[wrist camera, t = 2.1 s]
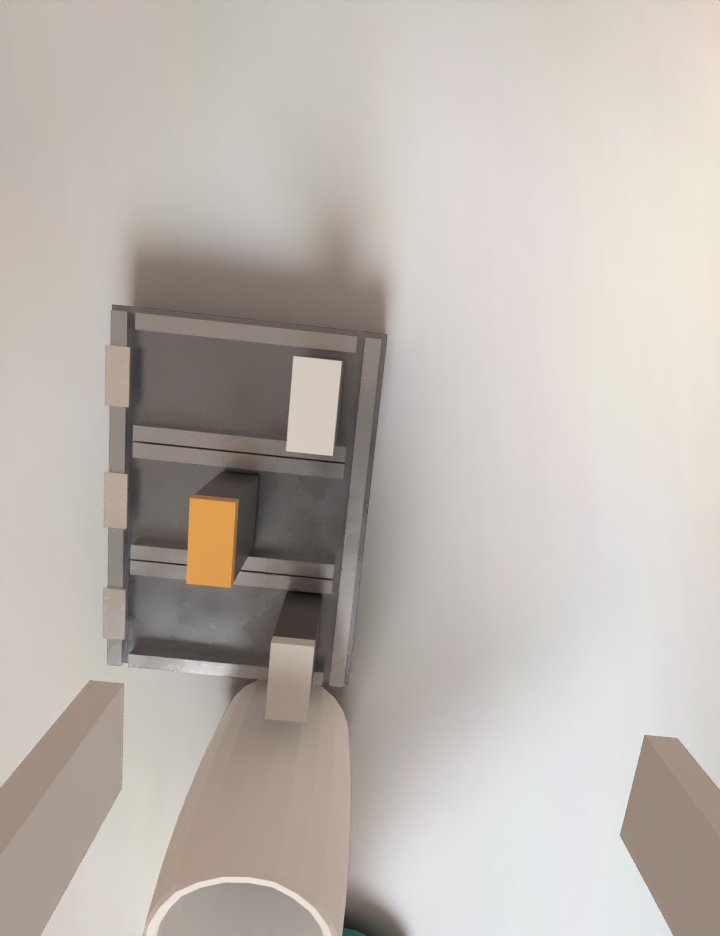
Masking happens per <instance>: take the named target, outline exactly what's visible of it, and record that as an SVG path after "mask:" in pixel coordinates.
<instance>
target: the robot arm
mask: <svg viewBox="0 0 720 936" xmlns="http://www.w3.org/2000/svg"><path fill="white" fill-rule="evenodd" d="M123 711H124V684H122V683H112V682H102V681H92V680H90V681H89V682H88V683H87V684H86V686H85V687H84V688H83V689H82V690H81V692H80V693H79V694H78V695H77V697H76V698H75V699H74V700H73V701H72V703H71V704H70V705H69V706H68V707H67V709H66V710H65V711H64V712H63V713H62V715H61V716H60V717H59V718H58V719H57V721H56V722H55V723H54V724H53V725H52V727H51V728H50V729H49V730H48V731H47V733H46V734H45V735H44V736H43V737H42V739H41V740H40V741H39V742H38V743H37V745H36V746H35V747H34V748H33V749H32V751H31V752H30V753H29V754H28V755H27V757H26V758H25V759H24V760H23V761H22V763H21V764H20V765H19V766H18V767H17V769H16V770H15V771H14V772H13V773H12V775H11V776H10V777H9V778H8V779H7V781H6V782H5V783H4V784H3V785H2V787H1V788H0V936H40V935H41V934H42V932H43V930H44V928H45V926H46V925H47V923H48V921H49V919H50V917H51V915H52V914H53V912H54V910H55V908H56V906H57V905H58V903H59V901H60V899H61V897H62V896H63V894H64V892H65V890H66V888H67V887H68V885H69V883H70V881H71V879H72V877H73V876H74V874H75V872H76V870H77V868H78V867H79V865H80V863H81V861H82V859H83V858H84V856H85V854H86V852H87V850H88V848H89V847H90V845H91V843H92V841H93V839H94V838H95V836H96V834H97V832H98V830H99V829H100V827H101V825H102V823H103V821H104V820H105V818H106V816H107V814H108V812H109V810H110V809H111V807H112V805H113V803H114V801H115V800H116V798H117V796H118V794H119V792H120V791H121V789H122V757H123ZM620 836H621V838H622V840H623V842H624V844H625V846H626V848H627V850H628V851H629V853H630V855H631V857H632V859H633V861H634V863H635V864H636V866H637V868H638V870H639V872H640V874H641V876H642V878H643V879H644V881H645V883H646V885H647V887H648V889H649V891H650V893H651V894H652V896H653V898H654V900H655V902H656V904H657V906H658V907H659V909H660V911H661V913H662V915H663V917H664V919H665V921H666V922H667V924H668V926H669V928H670V930H671V932H672V934H673V935H674V936H720V789H719V788H718V787H717V786H716V785H715V783H714V782H713V781H712V780H711V778H710V777H709V776H708V775H707V774H706V772H705V771H704V770H703V769H702V768H701V766H700V765H699V764H698V763H697V761H696V760H695V759H694V758H693V757H692V755H691V754H690V753H689V752H688V750H687V749H686V748H685V747H684V746H683V744H682V743H681V742H680V741H679V739H678V738H671V737H660V736H650V735H644V739H643V743H642V747H641V752H640V756H639V760H638V764H637V768H636V772H635V776H634V780H633V784H632V788H631V792H630V796H629V800H628V805H627V809H626V813H625V817H624V821H623V825H622V829H621V833H620Z"/></svg>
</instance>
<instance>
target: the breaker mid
mask: <svg viewBox="0 0 720 936" xmlns="http://www.w3.org/2000/svg"><path fill="white" fill-rule="evenodd" d="M257 491H258V476H257V475H247V474H237V473H228V472H220V473H219V474H218V475H217V476H215V477H214V478H213V479H212V480H211V481H209V482H208V483H207V484H206V485H205V486H204V487H202V488H201V489H200V490H199V491H198V492H196V493H195V494H194V495H193V496H192V497H190V506H189V529H188V552H187V576H186V584H195V585H205V586H216V587H226V588H231V586H232V585H233V583H234V581H235V579H236V577H237V576H238V574H239V572H240V570H241V568H242V567H243V565H244V563H245V561H246V559H247V558H248V556H249V554H250V552H251V551H252V549H253V547H254V535H255V520H256V506H257Z"/></svg>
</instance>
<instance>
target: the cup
mask: <svg viewBox="0 0 720 936" xmlns="http://www.w3.org/2000/svg"><path fill="white" fill-rule="evenodd" d="M267 686H268V680H260V679H259V680H257V681H255V682H253V683H250V684H248V685H246V686H244V687H243V688H242V689H241V690H240V691H239V692H238V693H237V694H236V695H235V696H234V698H233V699H232V701H231V703H230V704H229V706H228V708H227V709H226V711H225V713H224V715H223V717H222V719H221V721H220V723H219V725H218V727H217V729H216V731H215V733H214V735H213V737H212V739H211V741H210V744H209V746H208V748H207V750H206V752H205V754H204V757H203V759H202V761H201V764H200V766H199V768H198V771H197V773H196V775H195V778H194V780H193V782H192V785H191V787H190V790H189V792H188V795H187V797H186V800H185V802H184V805H183V807H182V809H181V812H180V814H179V817H178V820H177V823H176V826H175V829H174V832H173V834H172V837H171V840H170V843H169V846H168V849H167V852H166V855H165V858H164V861H163V864H162V867H161V871H160V874H159V878H158V881H157V885H156V888H155V892H154V895H153V899H152V902H151V905H150V909H149V912H148V916H147V919H146V924H145V928H144V932H143V936H342V931H343V923H344V914H345V906H346V894H347V879H348V865H349V848H350V811H351V783H350V750H349V734H348V724H347V721H346V718H345V715H344V712H343V710H342V709H341V707H340V705H339V704H338V702H337V701H336V699H335V698H334V697H333V696H332V695H331V694H330V693H329V692H327V691H326V690H325V689H324V688H323V687H321V686H320V685H312V691H311V698H310V705H309V712H308V718H307V723H301V722H290V721H280V720H269V719H265V712H266V699H267Z"/></svg>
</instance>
